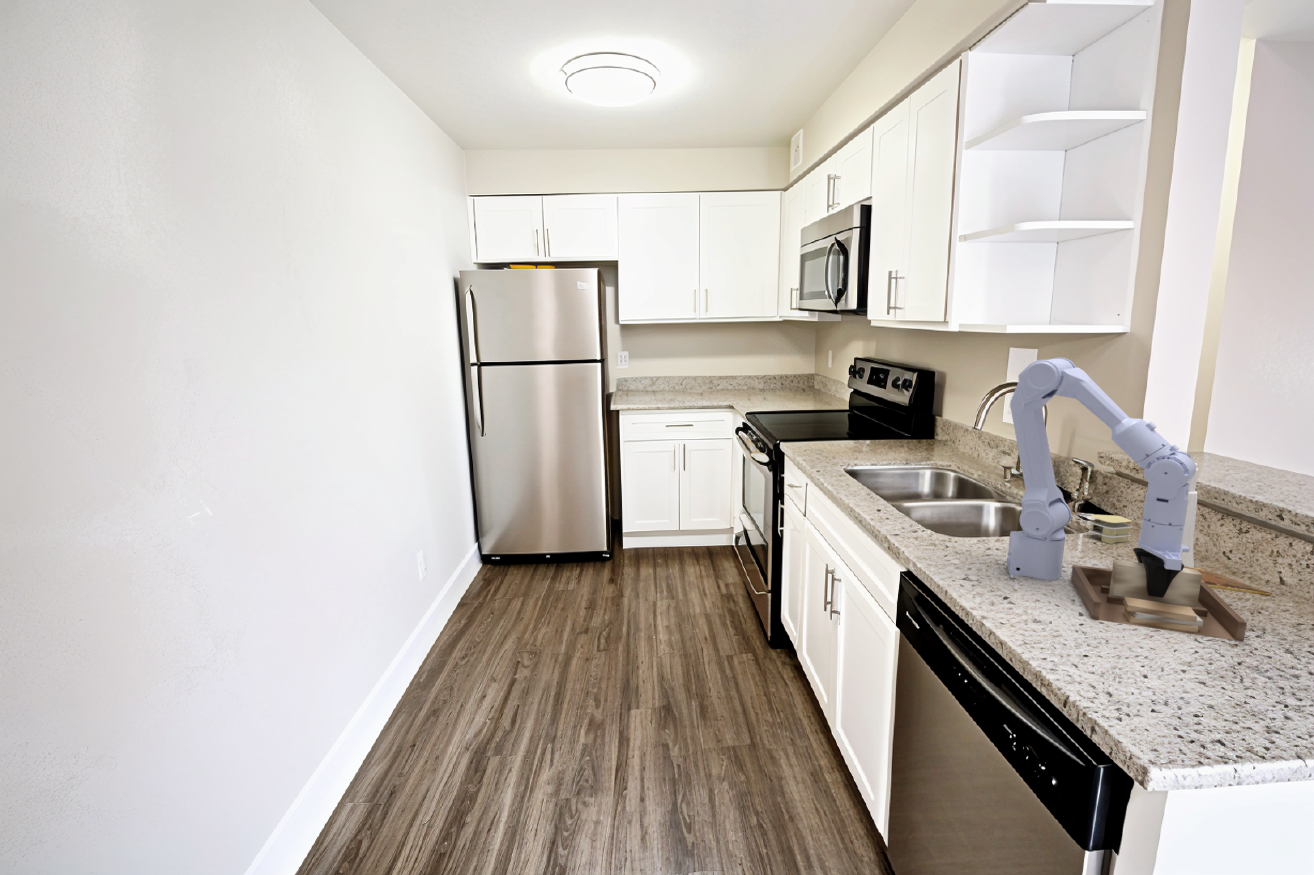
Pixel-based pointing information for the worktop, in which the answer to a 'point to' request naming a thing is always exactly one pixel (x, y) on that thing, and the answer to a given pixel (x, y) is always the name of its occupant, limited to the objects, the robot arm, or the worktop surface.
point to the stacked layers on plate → (1111, 528)
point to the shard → (1227, 582)
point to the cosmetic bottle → (1190, 522)
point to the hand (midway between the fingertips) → (1152, 592)
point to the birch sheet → (1133, 584)
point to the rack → (1111, 608)
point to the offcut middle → (1166, 619)
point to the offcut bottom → (1160, 623)
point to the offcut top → (1160, 609)
